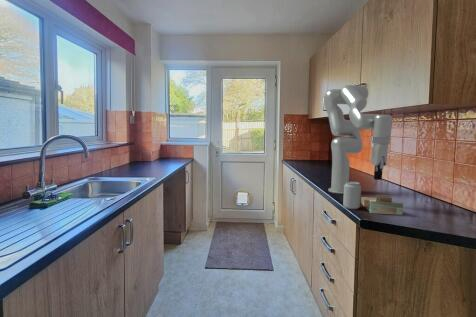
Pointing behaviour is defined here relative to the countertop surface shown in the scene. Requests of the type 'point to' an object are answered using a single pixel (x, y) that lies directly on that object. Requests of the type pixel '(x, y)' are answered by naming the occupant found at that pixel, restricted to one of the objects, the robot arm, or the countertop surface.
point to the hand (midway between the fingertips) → (377, 179)
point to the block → (383, 198)
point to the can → (352, 195)
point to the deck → (382, 206)
